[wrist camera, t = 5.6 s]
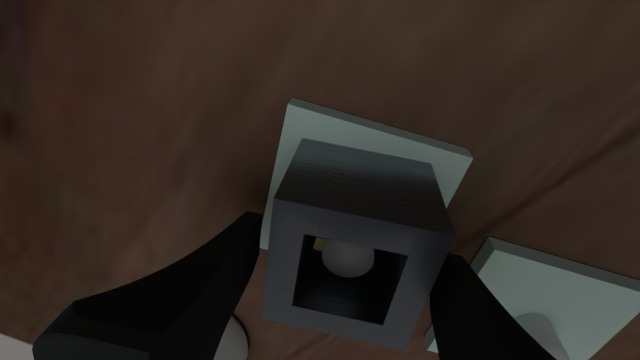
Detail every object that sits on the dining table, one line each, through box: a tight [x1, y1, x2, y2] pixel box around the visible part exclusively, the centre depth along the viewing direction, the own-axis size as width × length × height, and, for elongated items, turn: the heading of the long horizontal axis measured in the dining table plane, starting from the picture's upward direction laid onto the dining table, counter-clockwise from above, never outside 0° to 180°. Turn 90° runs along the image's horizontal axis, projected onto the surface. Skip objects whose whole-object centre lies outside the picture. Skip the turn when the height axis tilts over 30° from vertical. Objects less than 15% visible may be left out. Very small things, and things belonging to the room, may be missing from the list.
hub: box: [261, 138, 455, 351], centre depth 14 cm, size 6×6×5 cm
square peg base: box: [260, 98, 473, 278], centre depth 15 cm, size 8×8×4 cm
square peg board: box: [425, 237, 640, 360], centre depth 17 cm, size 8×8×4 cm
